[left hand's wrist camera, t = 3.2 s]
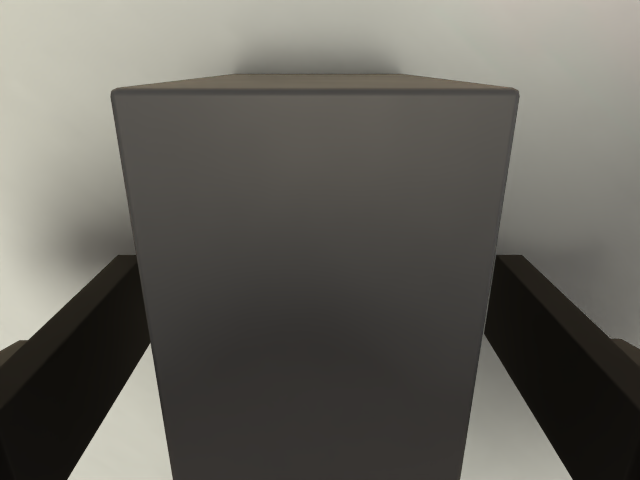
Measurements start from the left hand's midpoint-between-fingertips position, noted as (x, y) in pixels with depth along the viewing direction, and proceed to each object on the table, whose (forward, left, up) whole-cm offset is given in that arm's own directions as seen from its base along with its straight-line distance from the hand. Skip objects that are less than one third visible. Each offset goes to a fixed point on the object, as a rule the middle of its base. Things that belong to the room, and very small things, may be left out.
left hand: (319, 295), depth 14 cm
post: (-3, +30, -2) cm, 30 cm away
